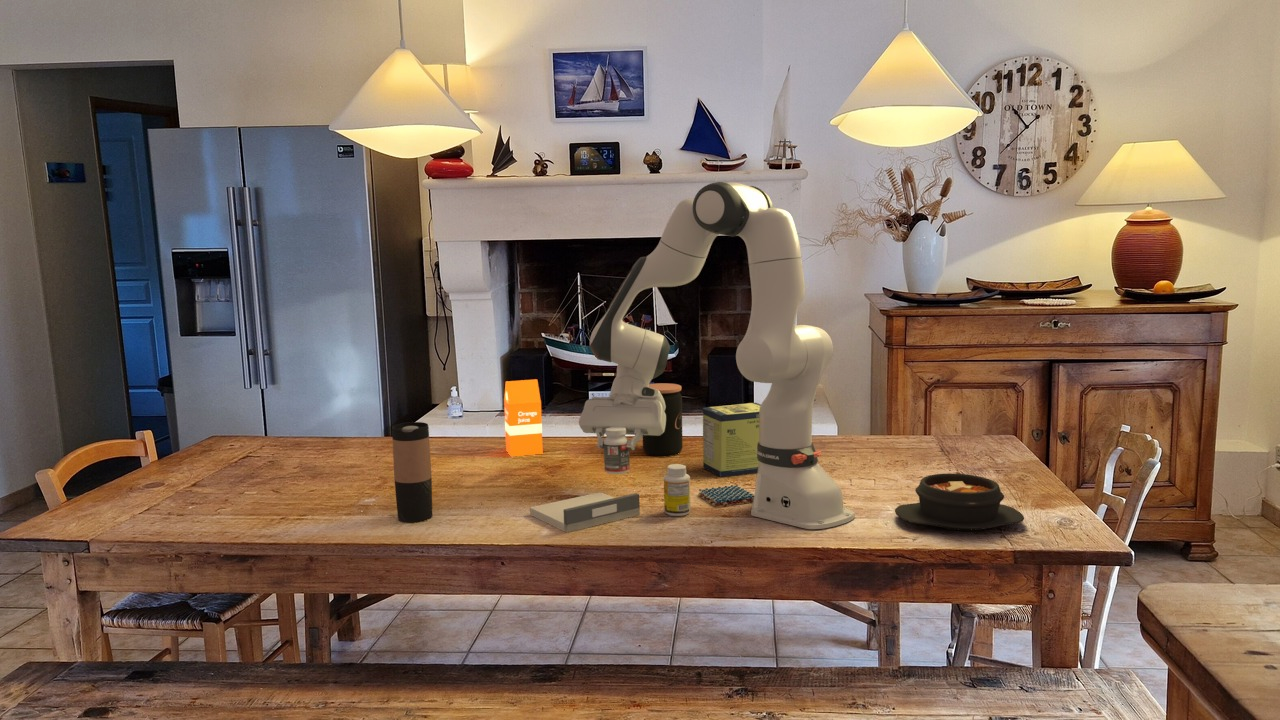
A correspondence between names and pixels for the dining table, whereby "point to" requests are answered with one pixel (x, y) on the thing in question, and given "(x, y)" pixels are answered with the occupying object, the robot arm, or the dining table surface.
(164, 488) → the dining table surface
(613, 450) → the pill bottle
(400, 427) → the travel mug
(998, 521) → the casserole
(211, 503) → the dining table surface
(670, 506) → the supplement bottle
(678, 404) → the coffee jar
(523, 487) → the dining table surface
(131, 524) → the dining table surface
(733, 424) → the protein box
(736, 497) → the woven mat
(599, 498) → the shelf
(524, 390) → the orange juice
